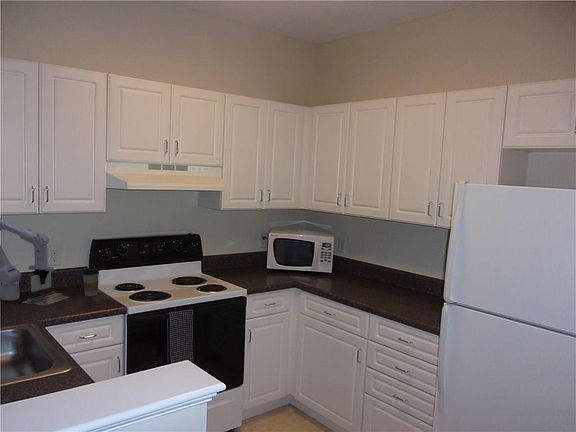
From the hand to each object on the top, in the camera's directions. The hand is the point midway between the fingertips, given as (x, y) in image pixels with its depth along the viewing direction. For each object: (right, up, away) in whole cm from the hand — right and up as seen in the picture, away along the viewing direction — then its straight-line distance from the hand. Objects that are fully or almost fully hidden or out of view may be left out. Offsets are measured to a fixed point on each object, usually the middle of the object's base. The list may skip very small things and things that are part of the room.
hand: (41, 284), depth 246 cm
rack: (+3, -9, 0) cm, 9 cm away
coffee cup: (+21, -9, +12) cm, 26 cm away
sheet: (0, -3, 0) cm, 3 cm away
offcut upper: (+8, -7, -2) cm, 10 cm away
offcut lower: (+8, -8, -2) cm, 11 cm away
